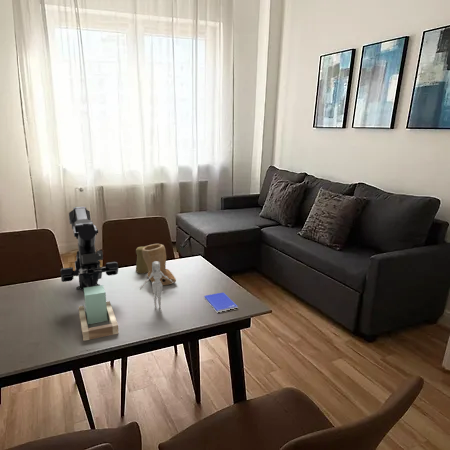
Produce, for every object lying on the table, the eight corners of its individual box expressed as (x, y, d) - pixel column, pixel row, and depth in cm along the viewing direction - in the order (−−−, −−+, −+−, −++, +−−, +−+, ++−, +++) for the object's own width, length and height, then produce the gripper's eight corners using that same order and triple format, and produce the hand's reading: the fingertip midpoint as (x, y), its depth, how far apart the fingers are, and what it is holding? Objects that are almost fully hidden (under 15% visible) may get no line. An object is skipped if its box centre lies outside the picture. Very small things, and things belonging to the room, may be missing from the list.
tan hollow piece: (141, 275, 158) (140, 241, 154) (168, 271, 163) (168, 239, 159) (147, 289, 145) (145, 253, 141) (176, 285, 149) (176, 250, 145)
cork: (152, 269, 165) (151, 246, 162) (145, 274, 159) (144, 250, 156) (140, 267, 167) (139, 244, 164) (132, 272, 161) (131, 248, 158)
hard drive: (238, 306, 130) (223, 292, 141) (217, 310, 127) (204, 295, 138) (238, 310, 131) (223, 295, 142) (217, 314, 128) (204, 299, 138)
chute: (79, 317, 122) (78, 306, 121) (110, 311, 127) (109, 301, 126) (83, 344, 108) (82, 332, 107) (118, 336, 112) (118, 325, 111)
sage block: (86, 315, 121) (83, 287, 119) (104, 312, 124) (103, 284, 121) (87, 324, 116) (85, 295, 113) (107, 320, 118) (105, 292, 116)
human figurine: (142, 316, 124) (140, 266, 119) (139, 312, 127) (137, 263, 122) (175, 308, 130) (175, 260, 125) (171, 304, 133) (170, 257, 128)
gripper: (57, 246, 121) (62, 290, 114) (116, 240, 129) (123, 281, 122) (59, 260, 130) (63, 302, 123) (113, 254, 138) (120, 293, 131)
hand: (93, 294), depth 124 cm, fingers closed
